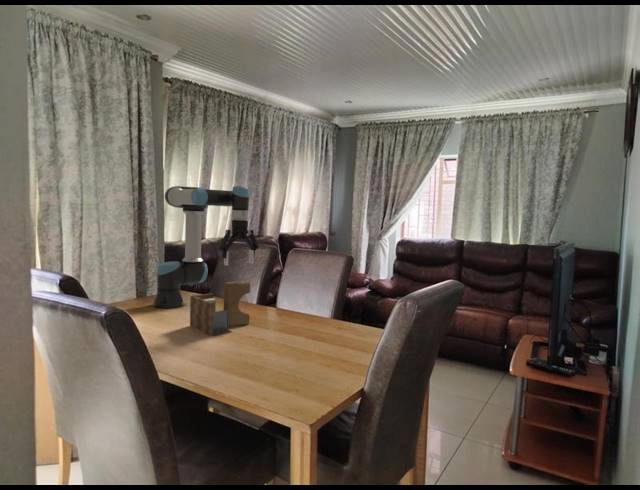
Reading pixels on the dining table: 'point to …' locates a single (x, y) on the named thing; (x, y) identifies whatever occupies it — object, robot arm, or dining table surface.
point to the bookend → (220, 323)
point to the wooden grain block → (201, 313)
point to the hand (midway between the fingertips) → (238, 264)
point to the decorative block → (235, 302)
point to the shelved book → (211, 302)
